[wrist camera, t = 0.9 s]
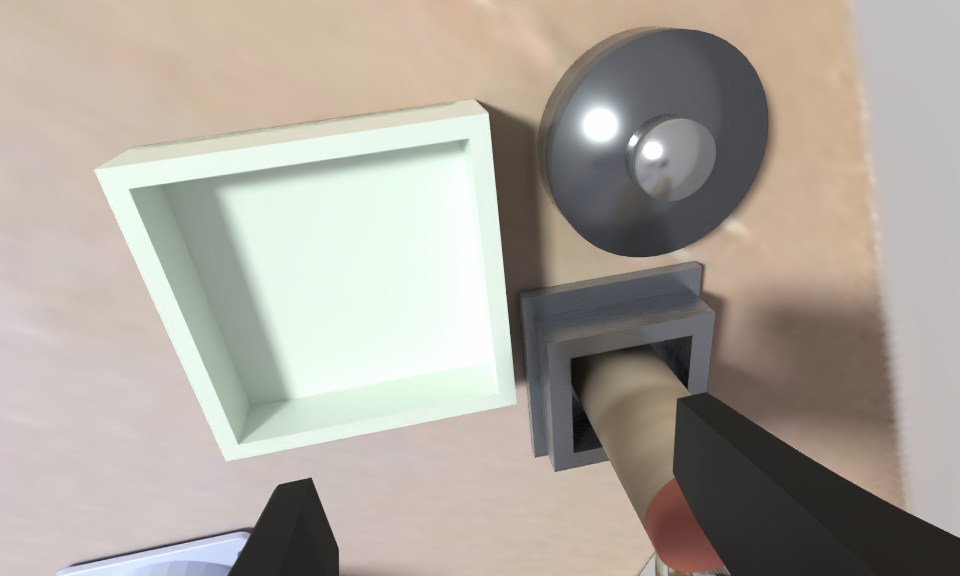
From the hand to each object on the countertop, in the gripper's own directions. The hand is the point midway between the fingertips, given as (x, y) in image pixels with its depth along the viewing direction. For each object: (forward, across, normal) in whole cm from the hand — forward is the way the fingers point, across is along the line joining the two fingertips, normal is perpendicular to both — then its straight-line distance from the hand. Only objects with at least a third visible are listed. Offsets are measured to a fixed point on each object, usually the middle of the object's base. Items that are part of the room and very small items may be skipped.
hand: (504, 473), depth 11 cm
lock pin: (+10, -6, +6) cm, 13 cm away
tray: (+10, +4, 0) cm, 11 cm away
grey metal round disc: (+10, -7, -3) cm, 13 cm away
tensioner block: (+10, -6, +6) cm, 13 cm away
